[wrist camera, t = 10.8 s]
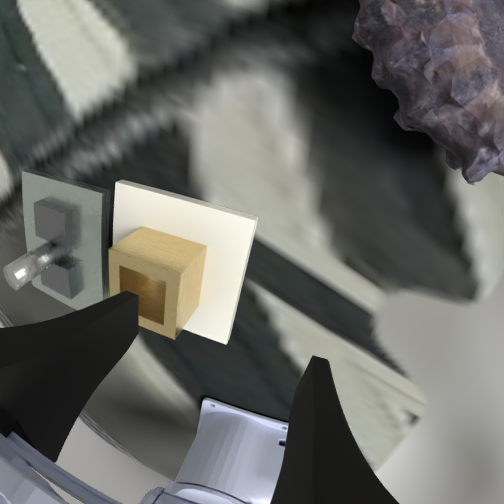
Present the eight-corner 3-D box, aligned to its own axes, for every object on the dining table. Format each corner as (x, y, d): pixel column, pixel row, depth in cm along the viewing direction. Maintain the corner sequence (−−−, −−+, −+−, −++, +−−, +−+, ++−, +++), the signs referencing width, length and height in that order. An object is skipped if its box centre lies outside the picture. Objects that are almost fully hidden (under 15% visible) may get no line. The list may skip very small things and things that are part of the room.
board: (258, 216, 20) (255, 220, 19) (229, 338, 24) (226, 344, 23) (122, 179, 21) (115, 182, 20) (118, 295, 25) (113, 300, 25)
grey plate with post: (110, 190, 21) (43, 220, 15) (110, 317, 27) (66, 363, 21) (30, 168, 23) (-30, 189, 17) (38, 281, 28) (-6, 313, 22)
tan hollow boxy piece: (207, 245, 20) (180, 274, 17) (198, 305, 23) (174, 339, 19) (143, 226, 21) (108, 249, 17) (140, 284, 23) (111, 313, 20)
